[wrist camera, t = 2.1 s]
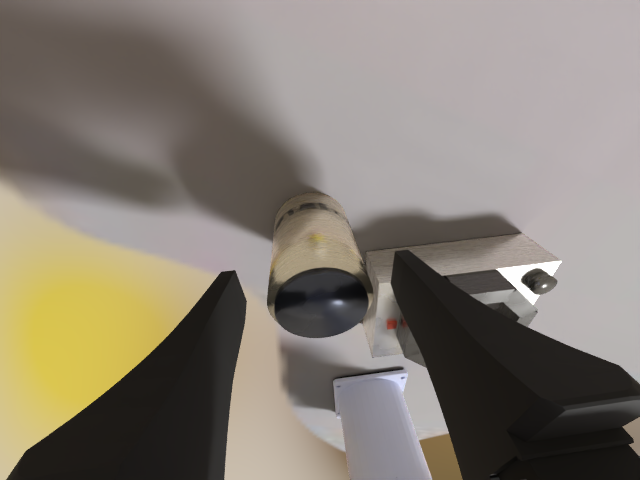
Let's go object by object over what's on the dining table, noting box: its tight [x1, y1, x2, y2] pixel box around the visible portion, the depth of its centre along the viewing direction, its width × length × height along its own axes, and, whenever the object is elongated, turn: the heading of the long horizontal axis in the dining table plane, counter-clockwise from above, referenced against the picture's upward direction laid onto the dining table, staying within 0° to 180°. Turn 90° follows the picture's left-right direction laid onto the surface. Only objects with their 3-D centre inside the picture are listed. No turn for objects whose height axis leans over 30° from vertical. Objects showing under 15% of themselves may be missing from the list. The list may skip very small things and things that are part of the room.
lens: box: [267, 193, 373, 338], centre depth 12 cm, size 4×4×6 cm
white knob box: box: [363, 233, 561, 368], centre depth 17 cm, size 8×11×4 cm
